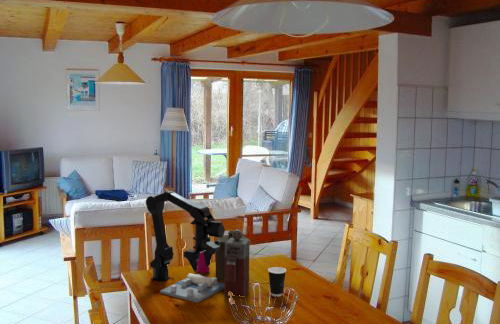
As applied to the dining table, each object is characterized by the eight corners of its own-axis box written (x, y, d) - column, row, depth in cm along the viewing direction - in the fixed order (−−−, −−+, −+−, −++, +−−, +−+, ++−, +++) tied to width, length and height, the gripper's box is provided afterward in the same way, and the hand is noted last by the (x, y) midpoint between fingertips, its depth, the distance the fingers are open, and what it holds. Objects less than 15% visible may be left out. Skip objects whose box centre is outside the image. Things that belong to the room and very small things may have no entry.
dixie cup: (267, 291, 221) (267, 266, 220) (285, 291, 221) (285, 267, 219) (267, 297, 213) (268, 272, 212) (286, 298, 213) (286, 273, 212)
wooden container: (252, 274, 243) (252, 229, 240) (235, 283, 230) (235, 236, 228) (227, 268, 251) (227, 225, 248) (209, 276, 238) (209, 231, 236)
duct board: (160, 293, 216) (160, 284, 216) (191, 278, 235) (191, 271, 235) (197, 302, 206) (197, 294, 206) (227, 286, 225) (227, 278, 225)
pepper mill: (208, 273, 242) (208, 233, 240) (193, 272, 244) (193, 232, 241) (212, 269, 249) (212, 229, 247) (198, 268, 251) (198, 229, 248)
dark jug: (222, 297, 212) (223, 233, 209) (229, 288, 223) (229, 226, 220) (243, 299, 210) (244, 234, 207) (248, 290, 221) (249, 228, 218)
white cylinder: (188, 284, 226) (185, 277, 224) (192, 278, 229) (190, 271, 227) (209, 289, 220) (207, 282, 218) (214, 283, 223) (212, 276, 221)
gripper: (203, 242, 210) (203, 278, 212) (228, 232, 226) (228, 266, 228) (182, 238, 216) (182, 273, 218) (208, 229, 232) (208, 262, 233)
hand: (201, 268), depth 224 cm, fingers open, 9 cm apart
